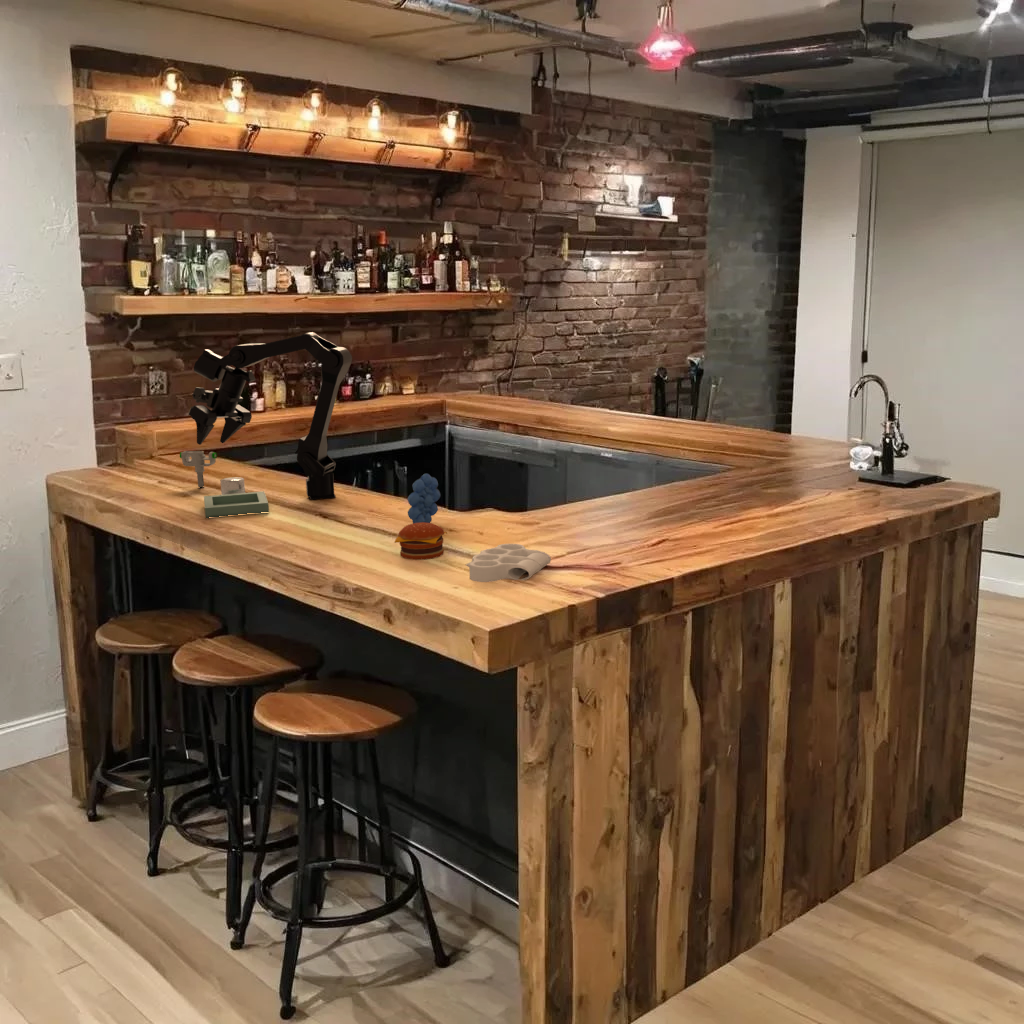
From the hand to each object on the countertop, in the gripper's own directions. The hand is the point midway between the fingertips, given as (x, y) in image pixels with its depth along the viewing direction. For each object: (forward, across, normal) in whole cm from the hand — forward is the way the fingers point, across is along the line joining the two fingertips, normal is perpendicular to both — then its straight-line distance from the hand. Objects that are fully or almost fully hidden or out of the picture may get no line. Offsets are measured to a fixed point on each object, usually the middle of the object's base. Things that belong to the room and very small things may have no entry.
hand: (210, 443), depth 296 cm
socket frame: (+6, +11, +22) cm, 25 cm away
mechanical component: (+17, -9, -4) cm, 19 cm away
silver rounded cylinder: (+10, 0, +13) cm, 16 cm away
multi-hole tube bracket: (-28, +39, +102) cm, 113 cm away
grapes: (-16, +12, +70) cm, 73 cm away
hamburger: (-19, +34, +82) cm, 91 cm away
